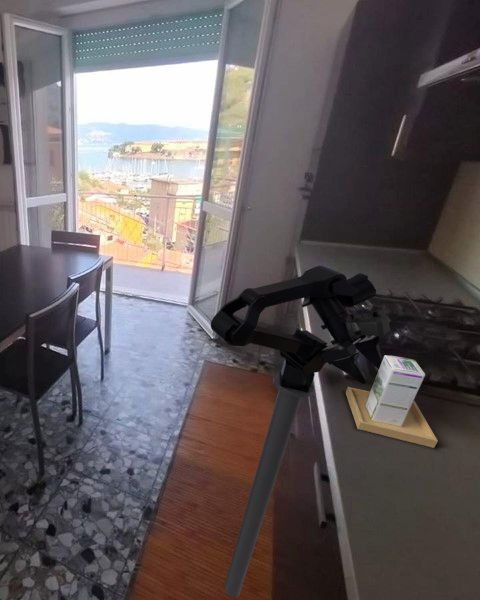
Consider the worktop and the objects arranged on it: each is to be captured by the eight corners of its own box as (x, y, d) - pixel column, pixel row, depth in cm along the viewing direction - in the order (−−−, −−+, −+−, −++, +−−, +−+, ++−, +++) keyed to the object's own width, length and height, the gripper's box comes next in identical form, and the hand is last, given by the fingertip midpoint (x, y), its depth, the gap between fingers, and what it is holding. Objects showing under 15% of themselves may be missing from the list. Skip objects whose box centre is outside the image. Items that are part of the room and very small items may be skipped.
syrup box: (402, 428, 78) (428, 374, 72) (369, 420, 80) (392, 368, 74) (393, 411, 83) (417, 359, 77) (362, 404, 85) (383, 353, 79)
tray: (357, 429, 79) (360, 422, 78) (345, 393, 90) (347, 386, 89) (434, 448, 74) (438, 441, 73) (411, 407, 85) (414, 400, 84)
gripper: (350, 313, 73) (397, 384, 70) (387, 291, 83) (430, 353, 79) (302, 331, 83) (341, 394, 79) (339, 309, 92) (376, 365, 88)
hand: (373, 376), depth 81 cm, fingers open, 9 cm apart
